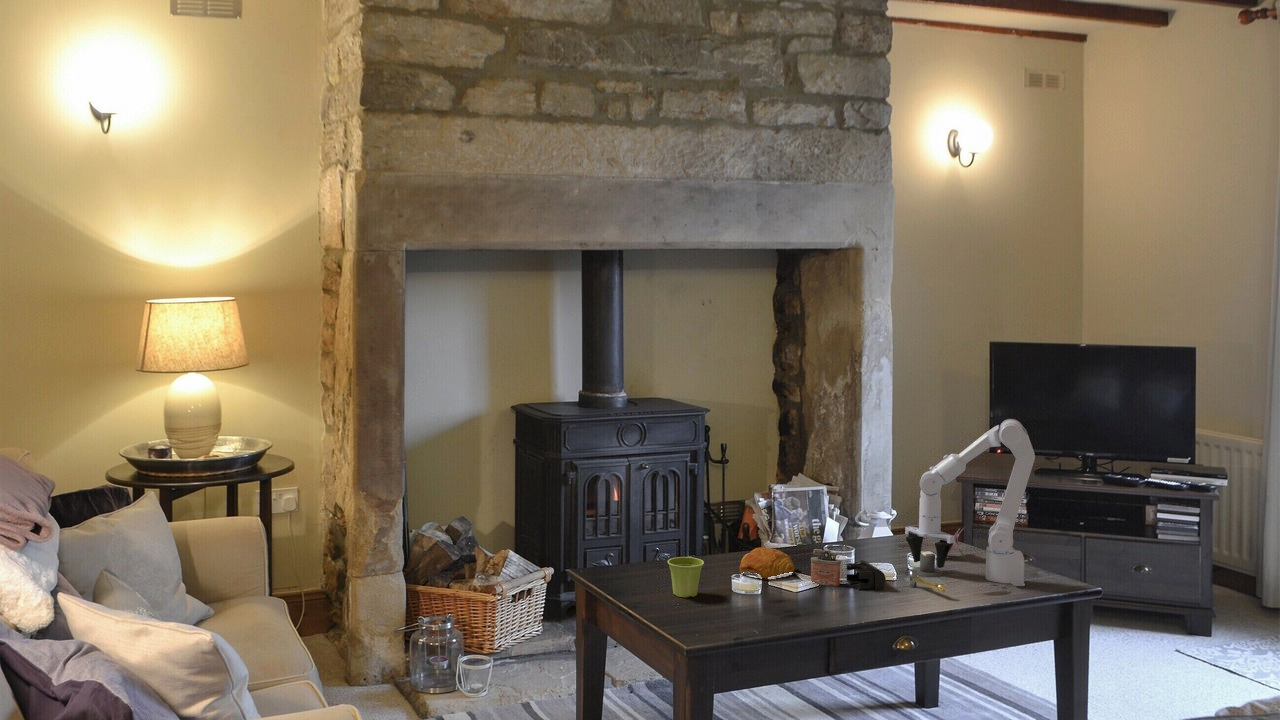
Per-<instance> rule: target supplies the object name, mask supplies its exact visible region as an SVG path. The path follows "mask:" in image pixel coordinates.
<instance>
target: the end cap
mask: <svg viewBox="0 0 1280 720" xmlns="http://www.w3.org/2000/svg"><path fill="white" fill-rule="evenodd" d="M859 561H860V562H853V563H852V562H851V563H846V571H855V572H856V573H854V574H853V573H852V574H850V573H849V574H846V583H848V584H850V585H854V588H855V589H857V590H858V591H861V590H863V591H864V590H865V591H867V590H874V591H882V590H883V588H884V587H885V586H886V583H887V580H886V578H887V577H886V575H885V573H884V572H883V571H882V569H879V568H877V567H876V566H874V565H873V564H871V563H869V562H868V561H866V560H863V559H860V560H859Z"/></svg>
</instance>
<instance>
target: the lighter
mask: <svg viewBox="0 0 1280 720" xmlns="http://www.w3.org/2000/svg"><path fill="white" fill-rule="evenodd" d="M813 555H817V556H811V558H810V562H811V564H810V566H811V567H810V568H811V569H810V582H811V581H812V582H815V583H817V584H816V585H822V586H830V587H831V586H832V587H839V586H840V585H841V564H842V560H841V559H839V558H838V559H837V555H838V554H837V552H836V551H831V549H826V550H823V549H819V548H814V549H813ZM815 583H814V584H815Z"/></svg>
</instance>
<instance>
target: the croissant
mask: <svg viewBox="0 0 1280 720" xmlns="http://www.w3.org/2000/svg"><path fill="white" fill-rule="evenodd" d="M738 569H739V573H740V574H741V573H743V572H750V573H757V574H760V575H761V577H762V578H765V579H764V580H767V579H766V578H768V577H771V576H777V575H780V574H784V573H789V572H795V569H796V567H795V564H794V561H793V560H792V558H791V556H790V555H789V554H787V553H785V552H783V551H781V550H779V549H776V548H770V547H769V548H767V547H762V546H760V547H756V548H754V549H752V550H751V551H750V552H749V553H746V554H744V555H743V557H742V558H741V561H740V565H739V568H738Z"/></svg>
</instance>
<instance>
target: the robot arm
mask: <svg viewBox="0 0 1280 720" xmlns="http://www.w3.org/2000/svg"><path fill="white" fill-rule="evenodd" d="M1002 444H1003V445H1004V446H1005V447H1006V448H1007V449H1009V450H1010V452H1011V453H1012V455H1013V456H1014V458H1015V460H1014V464H1013V467H1012V470H1011V474H1010V476H1009V480H1008V483H1007V486H1006V489H1005V492H1004V496H1003V499H1002V502H1001V506H1000V509H999V511H998V515H997V517H996V520H995V522H994V523H993V525H991V526H990V528H989V529H988V546H987V547H986V548H985V549H986V551H985V552H986V553H985V557H986V558H985V579H986V580H987V581H990V582H993V583H1001V584H1011V585H1012V586H1014V587H1025V586H1026V584H1025V558H1024V554H1023V553H1022V551H1021V550H1018V549H1017V550H1016V549H1015V548H1014V547H1013V546H1014V529H1015V524H1016V520H1017V517H1018V514H1019V511H1020V507H1021V504H1022V501H1023V497H1024V495H1025V491H1026V489H1027V485H1028V483H1029V479H1030V475H1031V473H1032V468H1033V466H1034V463H1035V460H1036V455H1035V454H1036V453H1035V451H1034V448H1033V445H1032V443H1031V440H1030V437H1029V434H1028V431H1027V429H1026V428H1025V427H1024V426H1023V424H1022V423H1021V422H1020V421H1018V420H1017V419H1015V418H1007V419H1005V420H1003V421H1002V422H1001V423H1000V425H999V424H997V425H995V426H993V427H992V428H991V429H989V430H988V431H986V432H985V433H984V434H982V435H981V436H980V437H979V438H977V439H975V441H973V442H972V443H971V444H969V446H967V447H966V448H965V449H963V450H962V451H960V452H959V454H957V453H950V454H949V455H948V454H945V455H944V456H943V457H942V460H941V461H939V462H938V463H937V464H936V465H934V466H933V465H932V466H930V467H929V471H925V472H924V473H923V474H922V475H921V478H920V480H919V488H920V491H919V492H920V493H919V496H920V497H919V511H918V514H919V515H918V518H919V520H918V527H917V526H916V527H915V526H906V527H904V528H905V531H904V533H905V535H908V536H906V537H905V541H906V542H907V544H908V546H909V548H910V551H911V555H912V559H913V563H920V554H921V553H922V546H923V541H924V539H925V538H926V539H930V540H933V541H934V540H935V541H936V542H934V547H935V550H936V566H937V568H936V569H942V568H944V567H945V565H946V564H945V563H946V560H947V557H948V555H949V552H950V551H951V550H950V549H951V547H952V546H953V543H954V535H955V534H954V535H952V534H950V533H946V532H944V531H941V528H942V527H941V521H942V520H941V518H942V498H941V490H942V488H943V485H948V484H949V483H951V482H952V481H953V480H954V479H956V478H957V477H959V476H960V475H961V474H962V473H964V472H965V471H966V468H967V467H966V465H967V464H968V463H969V462H970V461H972V460H974V459H975V458H976V457H978V456H979V455H981V454H982V453H983V452H985V451H987V450H988V449H989V448H994V447H995V448H996V447H1001V446H1002ZM937 541H938V542H937Z"/></svg>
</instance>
